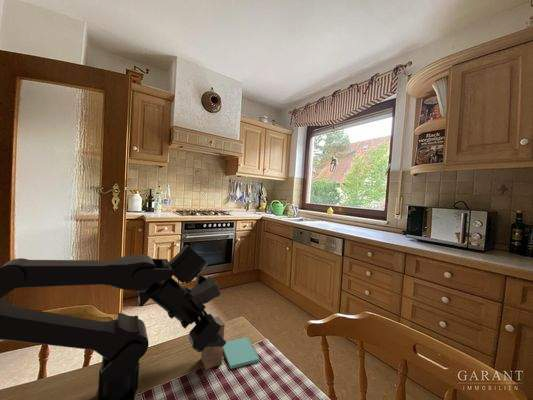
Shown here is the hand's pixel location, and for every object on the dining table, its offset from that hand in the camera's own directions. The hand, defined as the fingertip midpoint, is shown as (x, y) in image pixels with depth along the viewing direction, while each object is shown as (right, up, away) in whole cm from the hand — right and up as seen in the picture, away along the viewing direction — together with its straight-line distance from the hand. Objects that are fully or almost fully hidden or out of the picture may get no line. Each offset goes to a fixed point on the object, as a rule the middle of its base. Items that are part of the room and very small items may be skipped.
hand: (217, 333), depth 58 cm
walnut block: (-2, -7, 0) cm, 7 cm away
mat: (+5, -7, +3) cm, 9 cm away
